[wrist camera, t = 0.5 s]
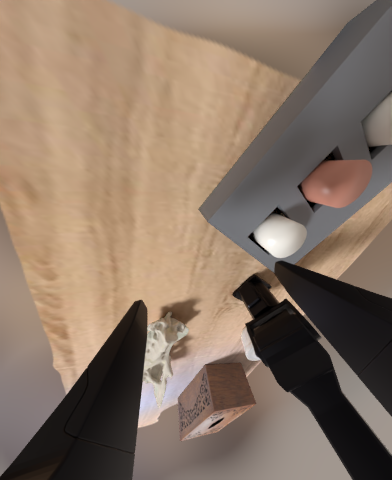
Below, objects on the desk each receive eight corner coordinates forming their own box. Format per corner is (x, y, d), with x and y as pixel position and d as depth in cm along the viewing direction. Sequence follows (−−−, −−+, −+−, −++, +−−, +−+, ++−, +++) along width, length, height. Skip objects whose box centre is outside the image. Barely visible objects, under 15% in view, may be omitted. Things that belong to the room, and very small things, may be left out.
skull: (99, 415, 29) (133, 352, 20) (113, 366, 36) (143, 303, 27) (157, 410, 33) (207, 356, 24) (160, 367, 40) (199, 313, 31)
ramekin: (273, 331, 42) (287, 351, 38) (240, 344, 42) (249, 365, 38) (273, 311, 37) (288, 331, 32) (234, 326, 37) (244, 349, 32)
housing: (377, 150, 20) (434, 146, 16) (260, 258, 26) (279, 276, 22) (347, 22, 13) (434, -45, 9) (198, 209, 19) (207, 221, 15)
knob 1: (283, 222, 20) (312, 237, 16) (260, 245, 21) (282, 263, 17) (267, 204, 18) (295, 215, 14) (242, 229, 19) (262, 246, 15)
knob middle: (330, 178, 18) (376, 181, 14) (301, 205, 19) (337, 216, 15) (317, 151, 16) (366, 147, 12) (286, 184, 17) (322, 189, 13)
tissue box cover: (204, 363, 44) (214, 411, 36) (240, 361, 49) (256, 403, 41) (177, 397, 54) (180, 441, 45) (209, 392, 59) (217, 431, 50)
